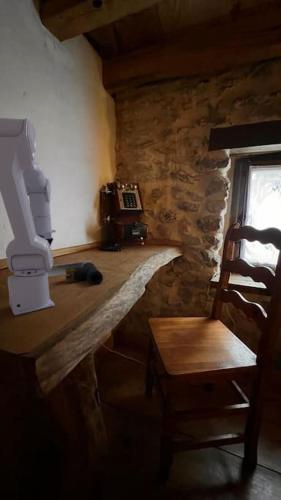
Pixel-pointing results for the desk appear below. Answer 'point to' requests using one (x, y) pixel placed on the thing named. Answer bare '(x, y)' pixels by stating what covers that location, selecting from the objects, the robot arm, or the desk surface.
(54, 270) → the guide dock
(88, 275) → the pipe connector
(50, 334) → the desk surface
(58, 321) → the desk surface
